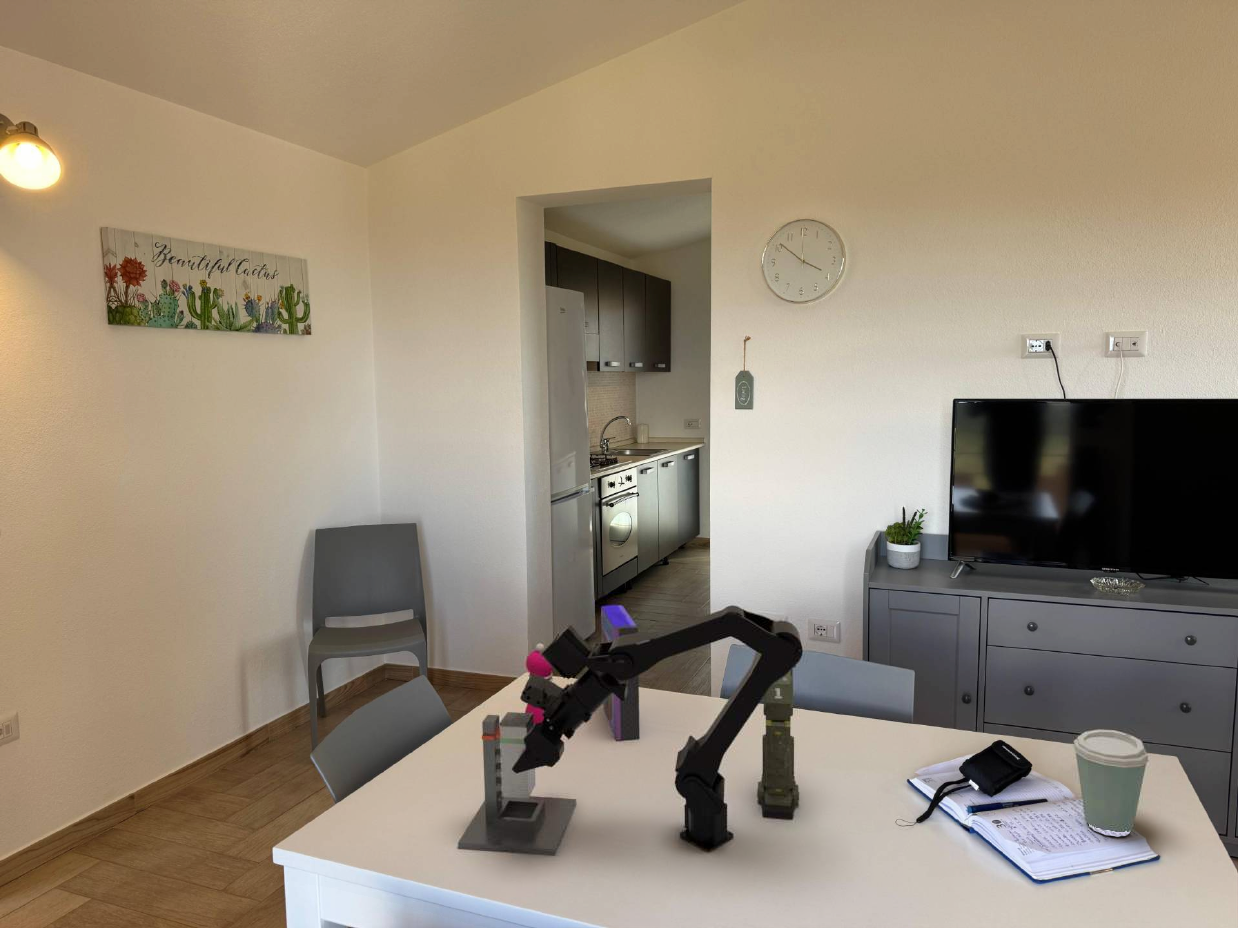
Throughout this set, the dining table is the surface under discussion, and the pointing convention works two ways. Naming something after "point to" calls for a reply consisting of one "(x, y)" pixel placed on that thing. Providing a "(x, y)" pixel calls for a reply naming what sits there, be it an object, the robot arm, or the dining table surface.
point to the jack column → (515, 754)
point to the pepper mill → (543, 669)
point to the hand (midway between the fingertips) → (521, 758)
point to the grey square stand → (513, 810)
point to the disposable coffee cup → (1110, 777)
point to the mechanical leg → (778, 753)
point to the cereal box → (627, 712)
